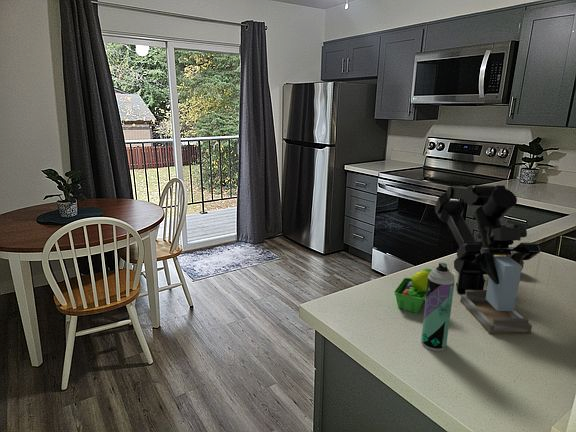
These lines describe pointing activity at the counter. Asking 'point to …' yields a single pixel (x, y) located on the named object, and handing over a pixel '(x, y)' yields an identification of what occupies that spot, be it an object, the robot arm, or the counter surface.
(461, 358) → the counter surface
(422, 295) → the fruit basket
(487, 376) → the counter surface
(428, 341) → the spray can
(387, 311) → the counter surface
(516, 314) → the shallow grey tray
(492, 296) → the blue-grey rectangular block
